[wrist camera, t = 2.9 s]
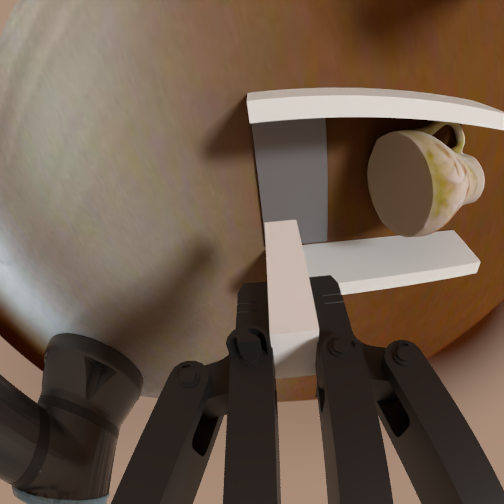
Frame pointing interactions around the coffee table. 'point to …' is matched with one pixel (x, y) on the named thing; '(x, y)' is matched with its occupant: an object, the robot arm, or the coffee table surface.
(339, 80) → the coffee table surface
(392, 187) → the mug
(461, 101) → the channel
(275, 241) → the robot arm
